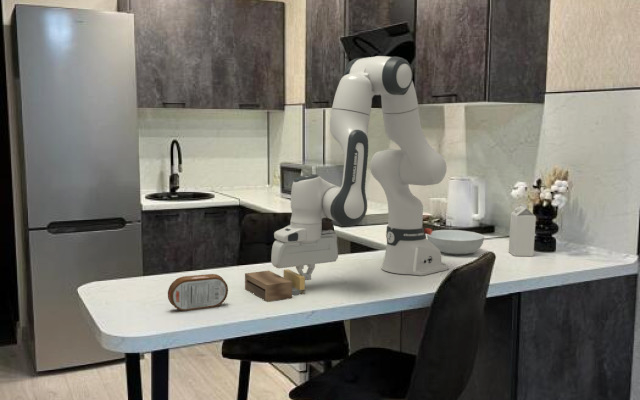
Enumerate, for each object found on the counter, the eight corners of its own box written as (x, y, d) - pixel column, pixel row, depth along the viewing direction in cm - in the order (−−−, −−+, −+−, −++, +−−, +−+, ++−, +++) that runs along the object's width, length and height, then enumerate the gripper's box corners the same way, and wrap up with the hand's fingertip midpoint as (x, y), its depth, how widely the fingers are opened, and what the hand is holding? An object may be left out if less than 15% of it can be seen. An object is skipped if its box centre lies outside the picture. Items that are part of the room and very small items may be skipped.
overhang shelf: (268, 285, 173) (268, 270, 173) (291, 298, 161) (292, 281, 161) (244, 288, 169) (244, 273, 169) (266, 301, 158) (266, 285, 157)
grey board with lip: (288, 286, 174) (288, 269, 174) (304, 294, 166) (304, 277, 165) (253, 290, 169) (253, 273, 168) (268, 299, 160) (268, 281, 160)
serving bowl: (415, 248, 231) (416, 231, 230) (460, 245, 239) (461, 228, 238) (447, 260, 212) (448, 241, 211) (495, 256, 220) (496, 237, 219)
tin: (225, 303, 156) (225, 271, 155) (229, 306, 153) (229, 274, 152) (167, 310, 149) (167, 277, 148) (170, 314, 146) (170, 280, 145)
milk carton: (527, 252, 227) (530, 203, 225) (533, 256, 220) (536, 205, 218) (508, 252, 228) (511, 202, 225) (514, 256, 220) (517, 205, 218)
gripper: (331, 227, 178) (330, 273, 179) (268, 233, 167) (268, 281, 169) (342, 231, 172) (341, 278, 174) (279, 236, 162) (278, 286, 163)
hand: (305, 279), depth 171 cm, fingers closed
